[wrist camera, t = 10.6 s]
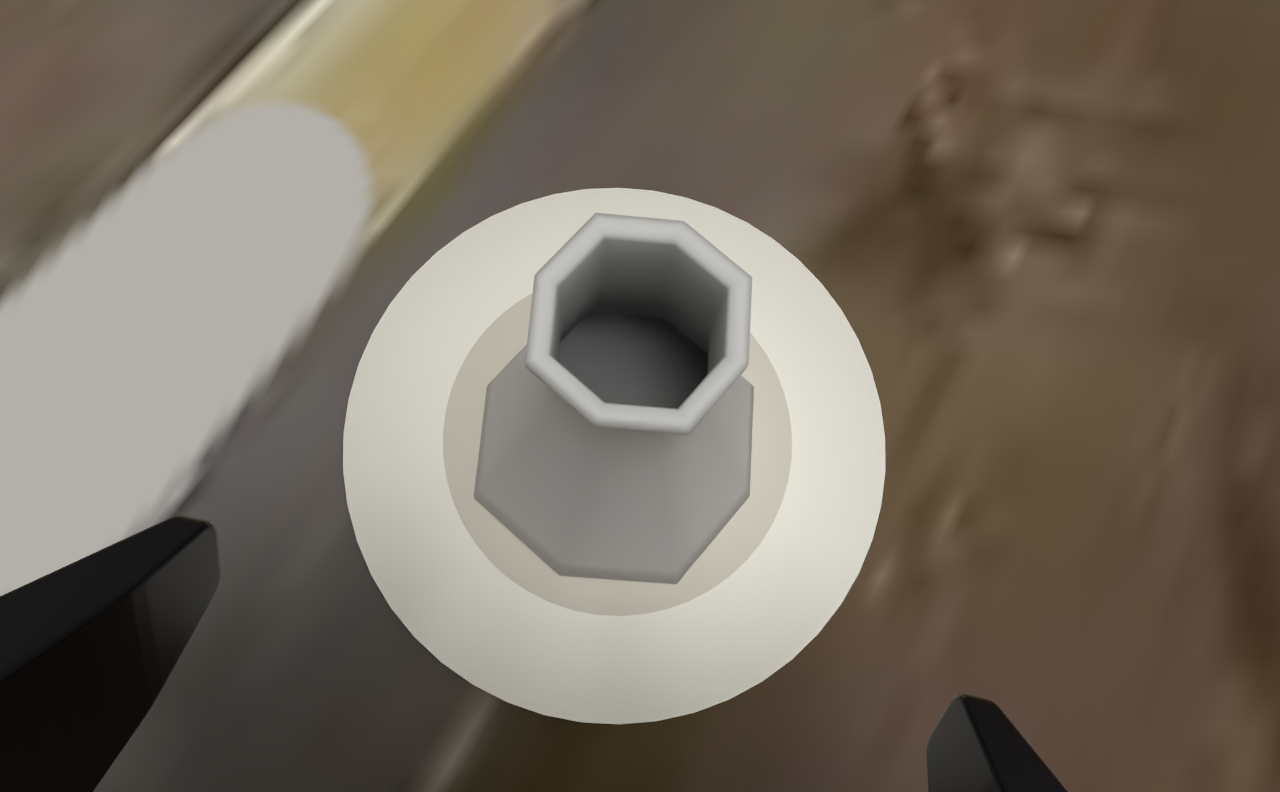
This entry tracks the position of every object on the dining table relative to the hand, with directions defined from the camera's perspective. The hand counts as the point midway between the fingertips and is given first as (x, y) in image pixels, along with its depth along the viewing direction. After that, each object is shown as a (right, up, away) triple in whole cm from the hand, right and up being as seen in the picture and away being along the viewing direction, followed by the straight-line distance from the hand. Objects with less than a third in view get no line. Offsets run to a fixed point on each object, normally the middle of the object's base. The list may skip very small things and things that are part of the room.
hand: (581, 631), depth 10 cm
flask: (0, +2, +11) cm, 11 cm away
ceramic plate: (0, +2, +12) cm, 12 cm away
